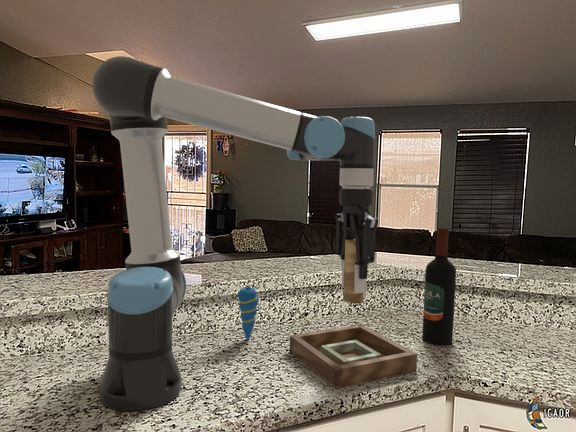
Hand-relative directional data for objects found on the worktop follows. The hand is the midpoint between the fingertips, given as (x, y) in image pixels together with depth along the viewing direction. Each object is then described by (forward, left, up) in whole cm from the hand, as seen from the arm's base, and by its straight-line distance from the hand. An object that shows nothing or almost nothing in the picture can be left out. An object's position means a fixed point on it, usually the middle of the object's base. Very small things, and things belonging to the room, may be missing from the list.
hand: (353, 289), depth 102 cm
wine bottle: (+29, +2, -17) cm, 34 cm away
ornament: (-17, +22, -17) cm, 33 cm away
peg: (0, 0, -3) cm, 3 cm away
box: (0, 0, -17) cm, 17 cm away
